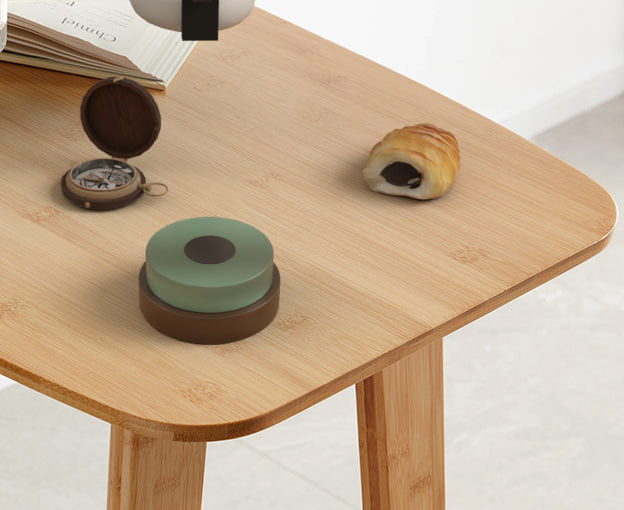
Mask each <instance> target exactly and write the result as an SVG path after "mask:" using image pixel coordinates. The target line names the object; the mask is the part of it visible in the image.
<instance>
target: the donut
mask: <svg viewBox="0 0 624 510" xmlns="http://www.w3.org/2000/svg"><path fill="white" fill-rule="evenodd" d="M129 3H130V5H131V7H132V10H133V11H134V12H135V14H136V15H137V16H138V17H140V18H141V19H142V20H144V21H145V22H146V23H148V24H150V25H153V26H156V27H157V28H160V29H163V30H167V31H172V32H177V33H181V9H182V0H129ZM255 4H256V0H219V26H218V32H220V31H224V30H229V29H230V28H233V27H235V26H238V25H240V24H241V23H243V21H245V20H246V19H247V18H248V17H249V16H250V15H251V14H252V12H253V11H254V9H255Z"/></svg>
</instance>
